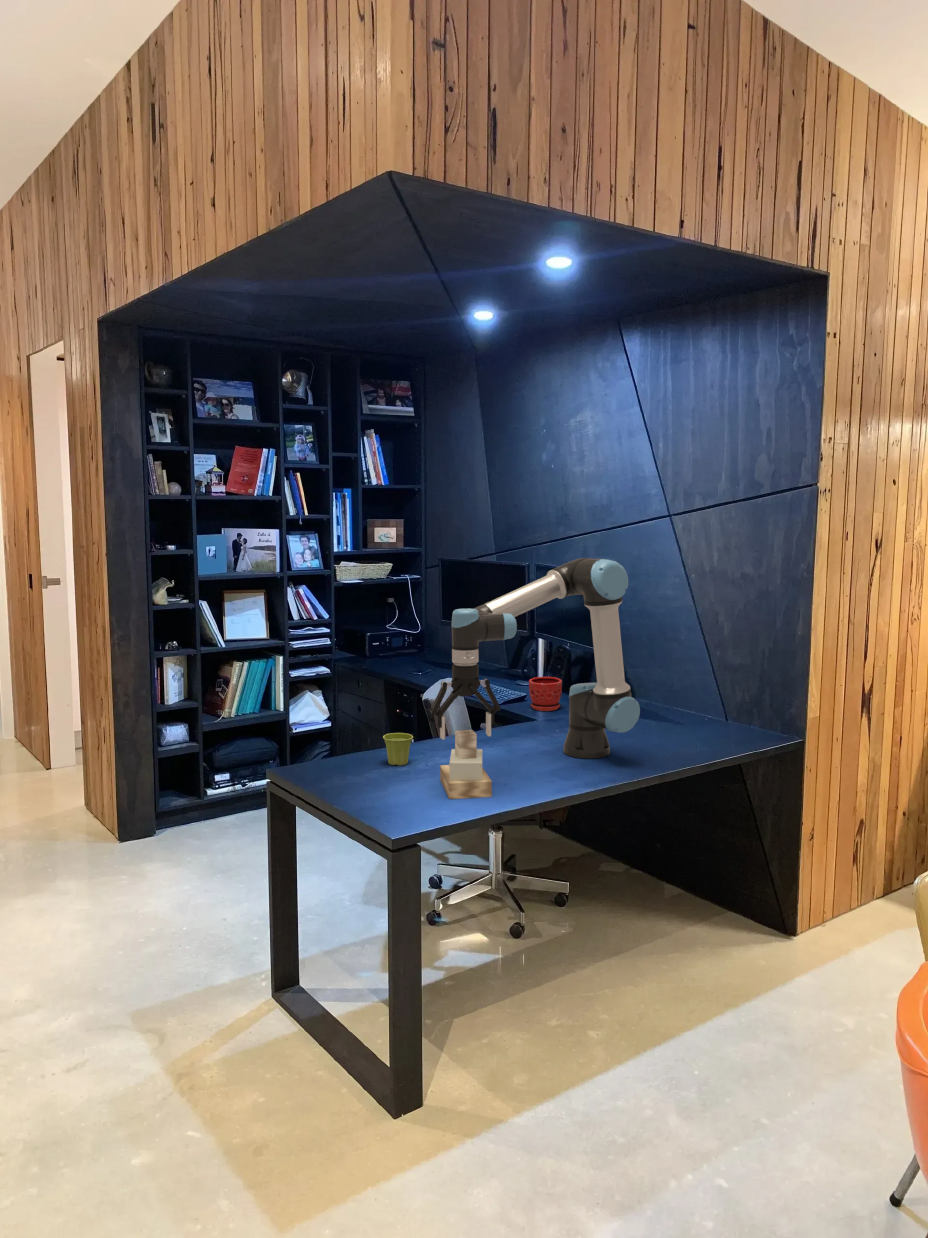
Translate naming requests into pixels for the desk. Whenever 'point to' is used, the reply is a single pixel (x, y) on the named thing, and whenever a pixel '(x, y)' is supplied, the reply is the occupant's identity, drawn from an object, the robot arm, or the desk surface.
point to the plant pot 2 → (545, 693)
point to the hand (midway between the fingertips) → (465, 737)
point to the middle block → (466, 767)
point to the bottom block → (465, 785)
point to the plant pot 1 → (398, 747)
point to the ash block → (465, 744)
